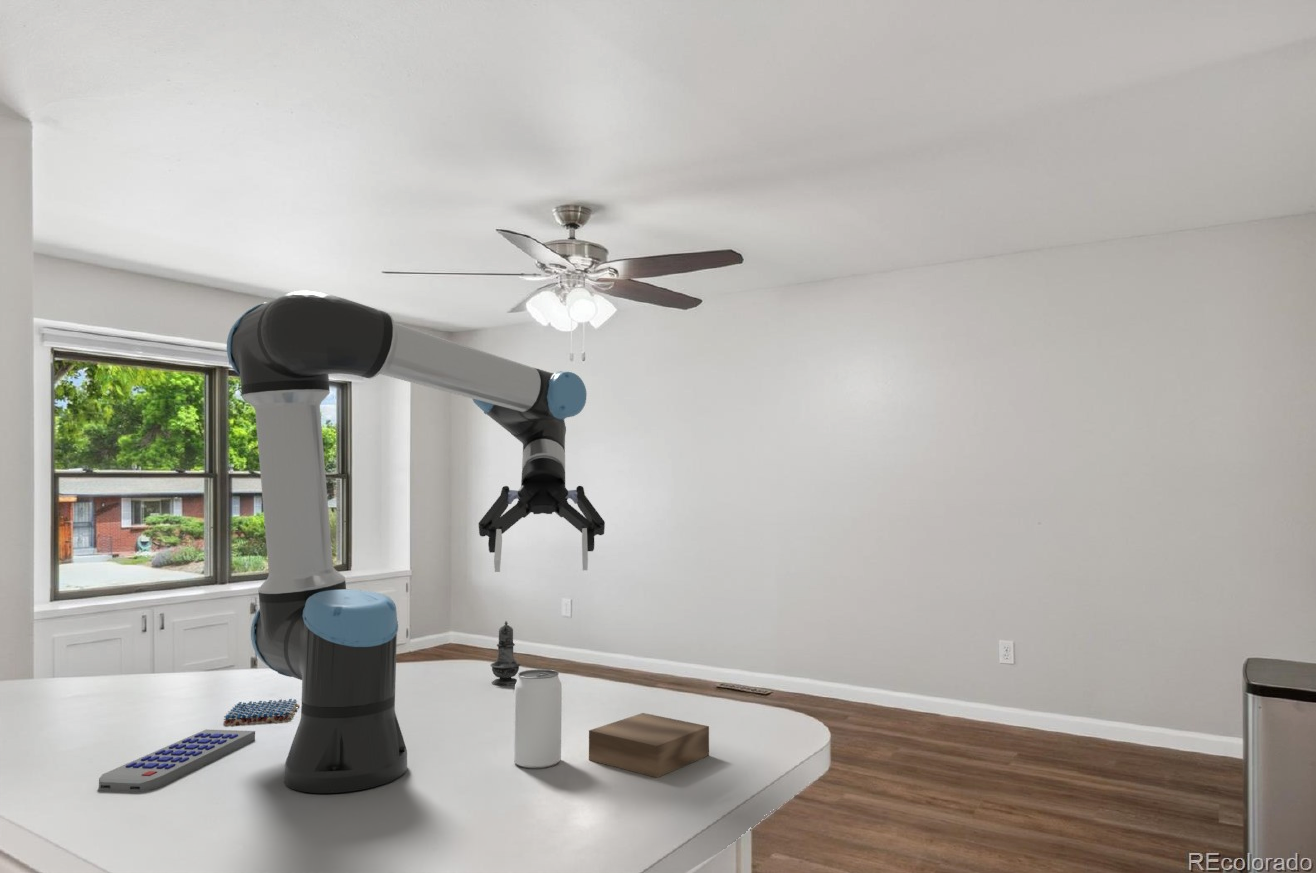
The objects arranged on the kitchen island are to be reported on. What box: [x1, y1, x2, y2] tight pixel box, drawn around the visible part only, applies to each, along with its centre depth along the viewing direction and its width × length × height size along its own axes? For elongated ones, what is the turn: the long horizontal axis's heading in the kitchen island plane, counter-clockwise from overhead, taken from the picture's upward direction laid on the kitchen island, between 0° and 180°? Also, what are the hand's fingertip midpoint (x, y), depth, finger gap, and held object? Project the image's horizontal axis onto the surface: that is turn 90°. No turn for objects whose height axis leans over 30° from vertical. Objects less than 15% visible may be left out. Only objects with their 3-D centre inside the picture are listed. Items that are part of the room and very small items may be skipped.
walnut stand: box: [588, 712, 710, 778], centre depth 117 cm, size 12×12×4 cm
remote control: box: [98, 729, 256, 793], centre depth 114 cm, size 8×23×2 cm, turn 174°
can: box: [513, 668, 563, 770], centre depth 115 cm, size 6×6×12 cm
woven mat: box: [223, 698, 301, 727], centre depth 139 cm, size 10×11×2 cm
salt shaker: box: [490, 620, 522, 687], centre depth 164 cm, size 6×6×12 cm
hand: (541, 565), depth 129 cm, fingers open, 13 cm apart
